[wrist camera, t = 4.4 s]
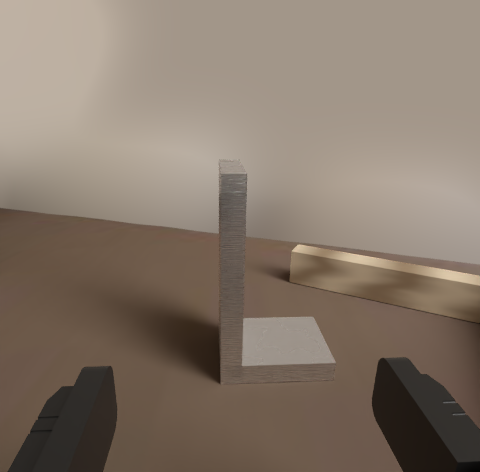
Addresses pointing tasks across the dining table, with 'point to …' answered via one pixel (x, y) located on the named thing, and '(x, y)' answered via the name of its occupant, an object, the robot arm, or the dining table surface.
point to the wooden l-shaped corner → (388, 281)
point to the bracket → (258, 329)
